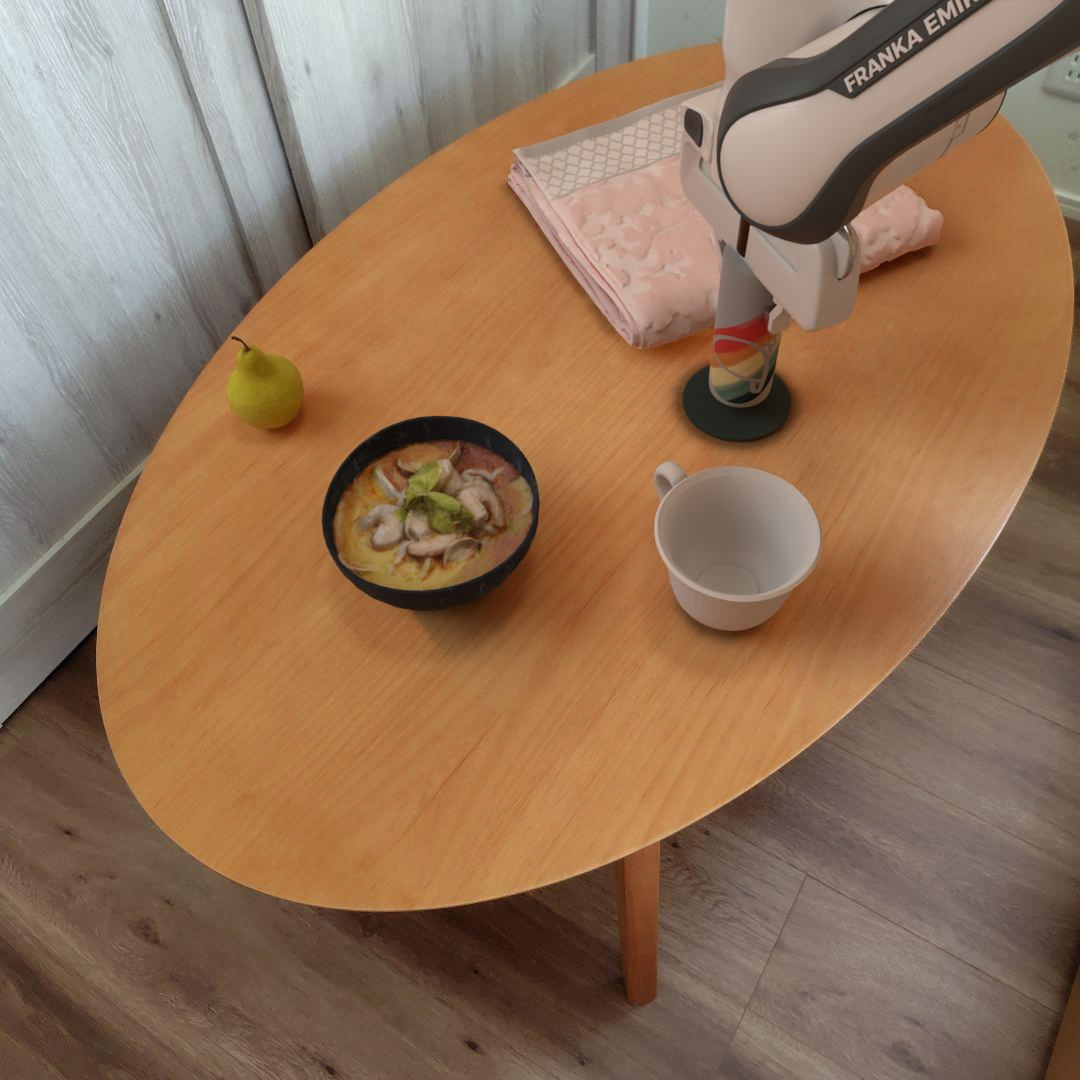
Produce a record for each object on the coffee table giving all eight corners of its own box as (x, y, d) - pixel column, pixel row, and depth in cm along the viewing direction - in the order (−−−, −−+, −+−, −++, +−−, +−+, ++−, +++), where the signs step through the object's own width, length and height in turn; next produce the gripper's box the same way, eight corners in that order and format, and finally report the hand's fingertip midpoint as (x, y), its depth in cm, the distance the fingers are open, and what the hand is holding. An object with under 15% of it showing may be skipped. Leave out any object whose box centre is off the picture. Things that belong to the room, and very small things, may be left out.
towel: (764, 98, 116) (770, 52, 112) (942, 254, 98) (958, 207, 93) (500, 185, 110) (495, 140, 105) (637, 371, 91) (639, 326, 86)
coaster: (755, 350, 92) (755, 347, 92) (811, 419, 86) (812, 416, 86) (663, 384, 90) (663, 381, 90) (715, 456, 85) (716, 453, 84)
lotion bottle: (732, 418, 84) (760, 231, 68) (695, 379, 87) (714, 191, 71) (783, 393, 86) (823, 203, 69) (746, 355, 89) (776, 165, 72)
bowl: (336, 656, 76) (302, 591, 67) (355, 487, 85) (328, 413, 77) (548, 646, 75) (540, 579, 67) (543, 477, 85) (535, 400, 76)
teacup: (709, 494, 82) (719, 417, 74) (833, 612, 75) (859, 540, 67) (598, 564, 79) (596, 492, 71) (717, 695, 71) (730, 630, 63)
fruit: (256, 387, 93) (214, 293, 84) (322, 393, 92) (287, 298, 83) (232, 440, 90) (184, 347, 80) (299, 447, 89) (260, 353, 79)
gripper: (901, 216, 62) (857, 368, 73) (741, 70, 73) (724, 222, 84) (818, 246, 61) (786, 395, 72) (668, 93, 72) (661, 243, 83)
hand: (752, 300), depth 78 cm, fingers closed on lotion bottle, 5 cm apart
